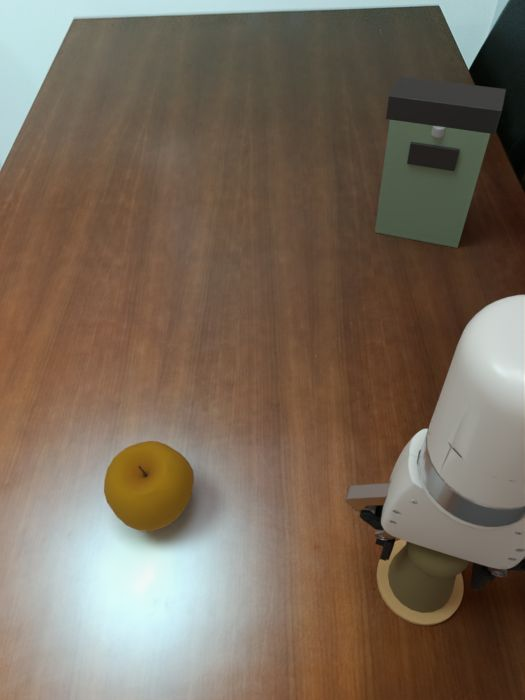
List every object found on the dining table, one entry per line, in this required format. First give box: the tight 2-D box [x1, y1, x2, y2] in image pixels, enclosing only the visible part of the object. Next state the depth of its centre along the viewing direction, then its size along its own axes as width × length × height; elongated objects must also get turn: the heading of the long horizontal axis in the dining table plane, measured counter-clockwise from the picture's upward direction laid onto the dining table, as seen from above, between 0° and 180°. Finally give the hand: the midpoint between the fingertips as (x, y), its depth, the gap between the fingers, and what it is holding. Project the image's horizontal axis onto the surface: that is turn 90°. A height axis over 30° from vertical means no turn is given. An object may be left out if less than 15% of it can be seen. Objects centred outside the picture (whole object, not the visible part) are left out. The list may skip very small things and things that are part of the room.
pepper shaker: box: [388, 541, 471, 613], centre depth 50 cm, size 6×6×11 cm
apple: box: [103, 440, 195, 532], centre depth 58 cm, size 9×8×9 cm
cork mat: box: [376, 539, 465, 627], centre depth 55 cm, size 8×8×1 cm
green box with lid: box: [374, 75, 507, 249], centre depth 77 cm, size 13×6×21 cm, turn 70°
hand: (431, 557), depth 50 cm, fingers open, 7 cm apart
